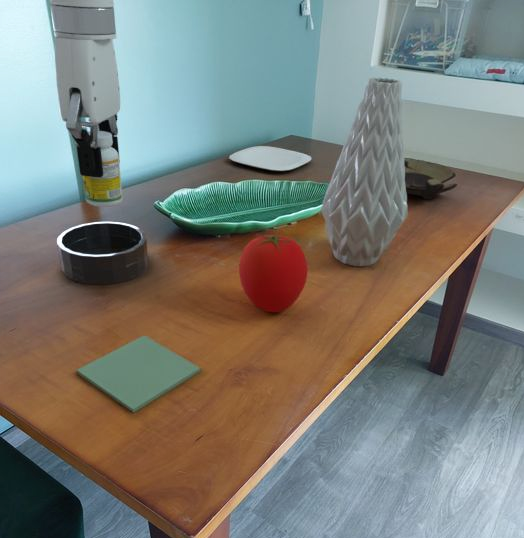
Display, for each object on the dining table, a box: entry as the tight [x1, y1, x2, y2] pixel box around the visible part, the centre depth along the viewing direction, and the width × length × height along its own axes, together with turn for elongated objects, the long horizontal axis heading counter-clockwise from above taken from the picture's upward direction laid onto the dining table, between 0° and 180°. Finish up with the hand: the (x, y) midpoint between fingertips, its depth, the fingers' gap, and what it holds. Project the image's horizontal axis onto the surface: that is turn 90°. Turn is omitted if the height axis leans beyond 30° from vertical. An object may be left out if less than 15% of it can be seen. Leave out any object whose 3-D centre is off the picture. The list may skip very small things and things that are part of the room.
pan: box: [56, 221, 149, 286], centre depth 99 cm, size 16×16×6 cm
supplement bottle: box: [82, 130, 123, 208], centre depth 77 cm, size 5×5×10 cm
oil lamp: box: [404, 157, 458, 200], centre depth 143 cm, size 22×30×8 cm
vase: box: [320, 77, 409, 268], centre depth 100 cm, size 17×17×33 cm
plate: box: [228, 145, 312, 172], centre depth 161 cm, size 22×22×2 cm
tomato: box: [238, 232, 308, 313], centre depth 87 cm, size 11×11×13 cm
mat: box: [76, 335, 201, 413], centre depth 74 cm, size 12×12×1 cm
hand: (100, 168), depth 77 cm, fingers closed on supplement bottle, 5 cm apart
